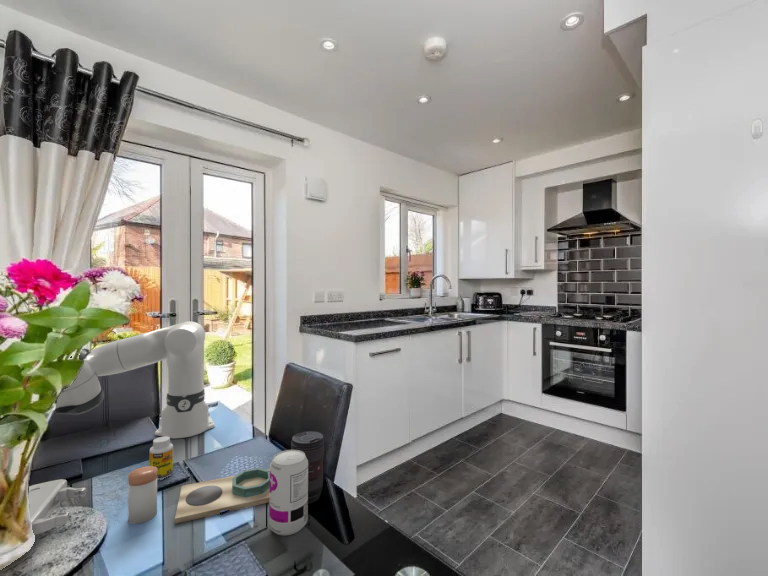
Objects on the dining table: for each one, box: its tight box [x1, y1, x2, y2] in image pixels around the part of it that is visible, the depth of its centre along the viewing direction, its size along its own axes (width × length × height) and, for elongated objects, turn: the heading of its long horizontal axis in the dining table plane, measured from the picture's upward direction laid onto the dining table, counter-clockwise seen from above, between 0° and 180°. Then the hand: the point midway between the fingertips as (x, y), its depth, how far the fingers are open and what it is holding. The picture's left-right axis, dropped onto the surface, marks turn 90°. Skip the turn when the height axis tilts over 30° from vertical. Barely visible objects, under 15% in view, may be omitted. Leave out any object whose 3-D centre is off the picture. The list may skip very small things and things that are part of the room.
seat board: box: [174, 467, 270, 525], centre depth 89 cm, size 14×22×3 cm, turn 114°
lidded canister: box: [127, 465, 158, 525], centre depth 81 cm, size 6×6×10 cm
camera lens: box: [290, 430, 325, 504], centre depth 89 cm, size 8×8×15 cm
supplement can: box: [268, 449, 309, 536], centre depth 79 cm, size 8×8×15 cm
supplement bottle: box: [148, 436, 174, 481], centre depth 98 cm, size 6×6×10 cm
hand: (77, 504), depth 76 cm, fingers open, 8 cm apart
